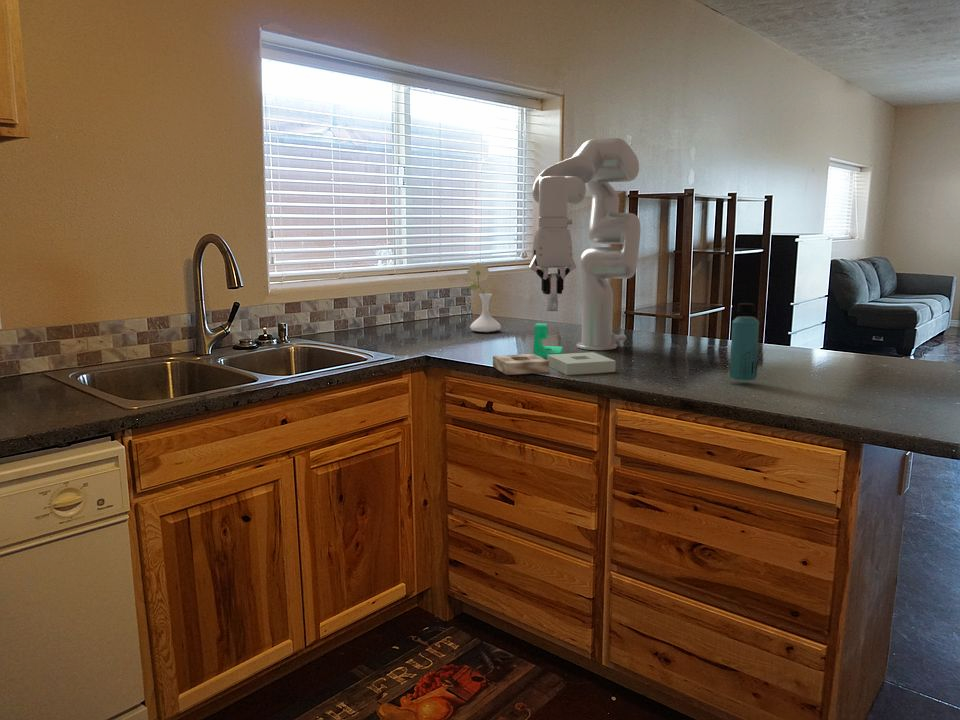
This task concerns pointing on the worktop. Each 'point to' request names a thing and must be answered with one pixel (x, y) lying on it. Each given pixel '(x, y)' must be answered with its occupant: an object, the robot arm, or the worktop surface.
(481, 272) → the flower in vase
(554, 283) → the steel pin
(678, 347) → the worktop surface
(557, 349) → the camera mount
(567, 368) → the dock block
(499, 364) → the block
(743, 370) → the beverage bottle
